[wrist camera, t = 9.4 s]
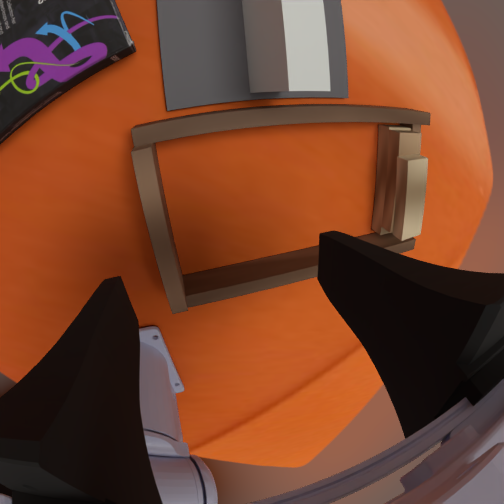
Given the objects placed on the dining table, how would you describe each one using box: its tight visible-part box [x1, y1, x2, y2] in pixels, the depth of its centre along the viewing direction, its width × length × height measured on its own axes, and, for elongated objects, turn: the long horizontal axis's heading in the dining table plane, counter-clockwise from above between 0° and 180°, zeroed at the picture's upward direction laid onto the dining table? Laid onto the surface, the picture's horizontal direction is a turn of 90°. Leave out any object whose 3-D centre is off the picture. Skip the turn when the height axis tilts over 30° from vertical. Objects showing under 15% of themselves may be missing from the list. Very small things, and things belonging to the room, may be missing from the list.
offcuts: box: [371, 125, 428, 241], centre depth 20 cm, size 9×3×4 cm, turn 5°
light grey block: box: [242, 0, 330, 93], centre depth 12 cm, size 8×2×6 cm, turn 5°
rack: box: [131, 104, 430, 314], centre depth 19 cm, size 12×20×4 cm, turn 95°
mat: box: [157, 0, 348, 111], centre depth 14 cm, size 9×12×1 cm
